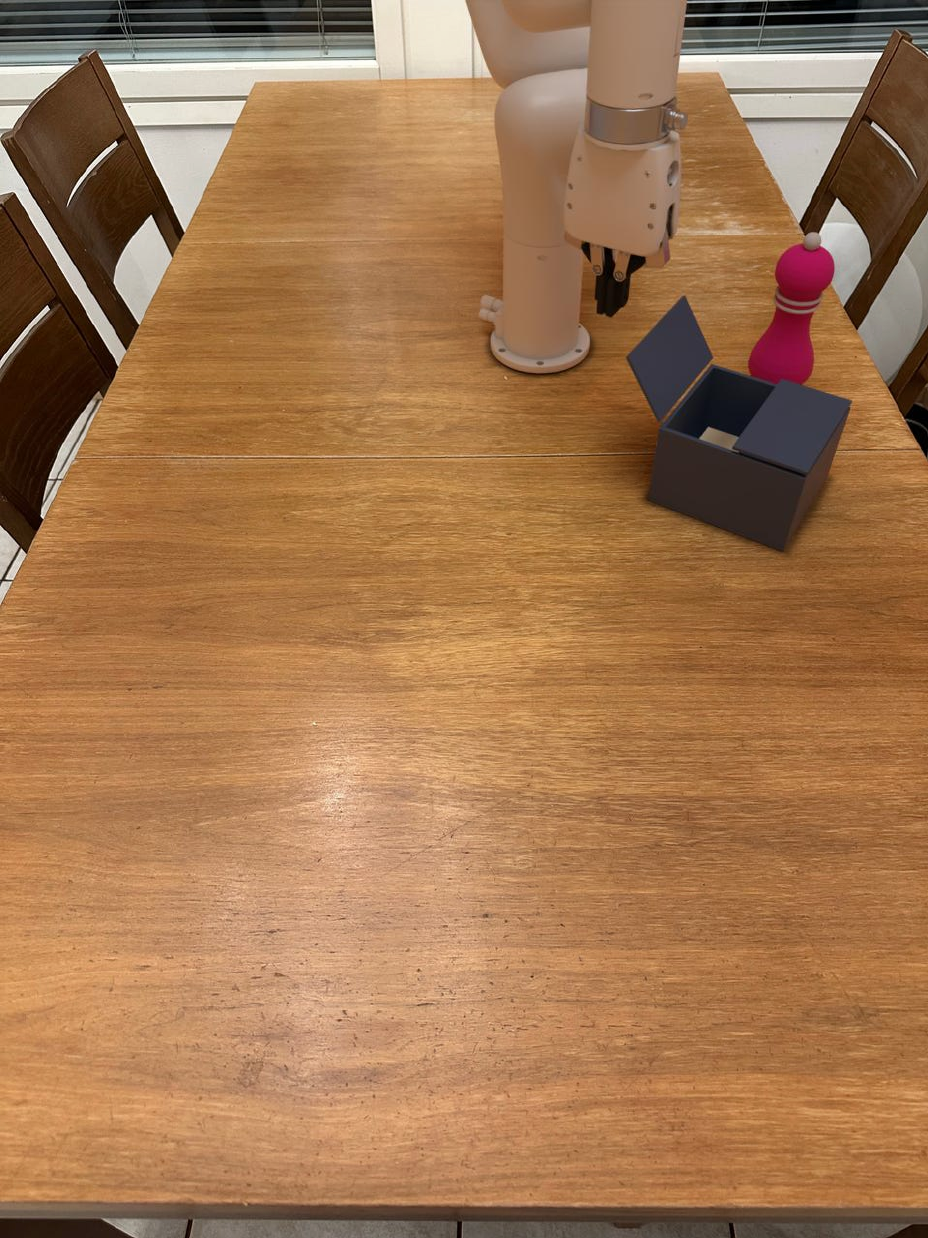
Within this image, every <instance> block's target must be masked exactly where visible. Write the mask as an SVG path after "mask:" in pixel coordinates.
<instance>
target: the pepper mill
mask: <svg viewBox="0 0 928 1238" xmlns="http://www.w3.org/2000/svg"><path fill="white" fill-rule="evenodd" d="M821 244H822V236H821V235H820V233H818V232H814V231H813V232H812V231H811V232H809V233H808V234H806V235H805V236H804V238H803V240H802V242H801V243H798V244H795V245H792V246H790V247H788V248H787V249H786V250H785V251H784V252H783V253H782V254H781V255H780V257H779V258H778V260H777V262H776V265H775V269H774V278H775V281H776V284H777V286H775V287H776V288H775V290H774V295H773V298H772V299H773V304H774V305H775V311H774V314H773V318H772V320H771V322H770V324H769V326H768V327H767V329H766V330H765V332H763V334H762V335H761V336H760V337H759V338H758V340H757V341H756V343H755V345H754V346H753V347H752V349H751V352H750V355H749V358H748V361H747V367H748V371H749V374H750V376H752V377H756V378H759V379H762V380H765V381H768V382H772V383H775V384H778V383H779V382H780V380H781V379H784V380H787V381H790V382H794V383H797V384H800V385H803V384H805V383H806V382H807V381H808V380H809V379H810V377H811V376H812V374H813V370H814V363H815V352H814V347H813V344H812V343H813V342H812V339H811V333H810V332H811V331H810V330H811V329H810V328H811V322H812V319H813V315H814V313H815V312H816V311H817V310H819V309H820V307H821V304H822V299H823V297H824V291H825V290H827V288H828V287H829V286H830V285H831V283H832V281H833V279H834V276H835V271H836V266H835V261H834V258H833V256H832V253H830V251H829V250H828V249H826V248H825V247H824V246H822V245H821Z"/></svg>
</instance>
